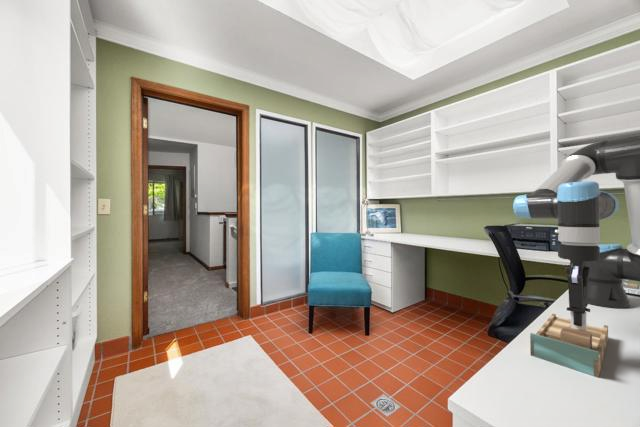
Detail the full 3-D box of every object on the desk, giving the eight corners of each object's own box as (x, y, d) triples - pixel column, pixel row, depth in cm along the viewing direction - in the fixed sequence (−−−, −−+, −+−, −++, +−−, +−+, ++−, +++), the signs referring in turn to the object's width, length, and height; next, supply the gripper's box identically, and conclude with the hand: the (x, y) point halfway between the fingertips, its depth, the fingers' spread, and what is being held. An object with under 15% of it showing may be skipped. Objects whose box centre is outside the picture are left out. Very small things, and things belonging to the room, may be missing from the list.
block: (564, 343, 68) (564, 325, 68) (592, 351, 64) (592, 332, 64) (560, 349, 65) (560, 331, 64) (589, 358, 61) (589, 339, 61)
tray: (552, 325, 84) (552, 308, 84) (608, 339, 75) (608, 319, 75) (530, 355, 67) (530, 333, 67) (598, 377, 58) (598, 352, 58)
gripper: (562, 240, 73) (563, 325, 73) (552, 244, 65) (553, 339, 65) (602, 242, 67) (602, 334, 67) (596, 247, 59) (597, 352, 59)
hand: (578, 337), depth 66 cm, fingers closed
